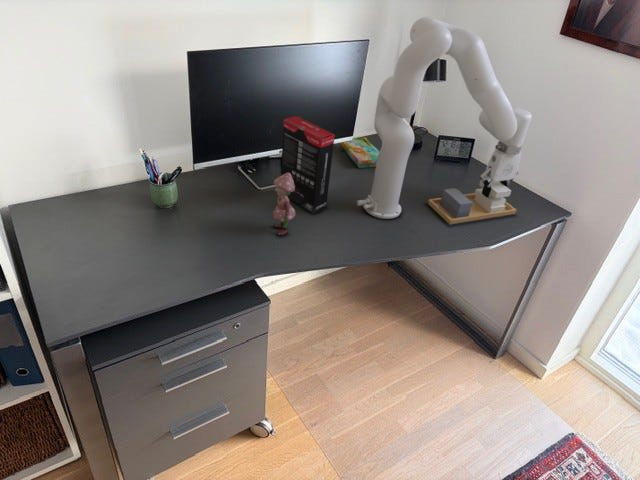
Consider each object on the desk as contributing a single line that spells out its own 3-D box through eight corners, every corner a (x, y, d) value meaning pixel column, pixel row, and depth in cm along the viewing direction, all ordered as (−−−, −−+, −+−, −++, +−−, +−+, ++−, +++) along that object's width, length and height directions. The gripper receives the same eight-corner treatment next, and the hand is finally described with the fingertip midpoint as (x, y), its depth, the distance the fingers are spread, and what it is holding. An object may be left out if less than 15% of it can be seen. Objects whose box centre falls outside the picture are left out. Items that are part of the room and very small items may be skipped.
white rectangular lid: (495, 198, 168) (497, 192, 166) (479, 185, 174) (480, 179, 173) (509, 196, 170) (511, 190, 169) (493, 183, 176) (494, 178, 175)
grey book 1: (458, 212, 164) (460, 204, 162) (441, 197, 171) (443, 189, 170) (470, 210, 166) (473, 202, 164) (453, 195, 173) (455, 187, 171)
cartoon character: (298, 239, 150) (303, 180, 138) (275, 241, 147) (278, 182, 136) (289, 220, 157) (293, 164, 146) (267, 222, 155) (270, 165, 144)
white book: (489, 213, 171) (491, 208, 170) (474, 200, 178) (475, 195, 177) (503, 211, 173) (505, 205, 172) (487, 198, 180) (489, 193, 179)
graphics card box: (327, 208, 165) (337, 132, 150) (313, 215, 161) (321, 137, 145) (292, 188, 174) (297, 114, 158) (277, 194, 170) (281, 118, 154)
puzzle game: (358, 158, 188) (339, 136, 203) (356, 169, 190) (338, 147, 205) (386, 156, 191) (365, 135, 206) (384, 167, 194) (364, 145, 209)
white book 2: (490, 207, 170) (492, 202, 169) (473, 194, 177) (475, 189, 175) (504, 204, 173) (506, 199, 171) (487, 192, 179) (488, 186, 178)
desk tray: (449, 226, 163) (450, 220, 162) (427, 205, 174) (428, 199, 172) (514, 215, 173) (516, 210, 172) (490, 196, 183) (492, 190, 182)
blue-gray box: (456, 219, 166) (458, 212, 164) (439, 204, 173) (441, 197, 171) (468, 217, 167) (470, 210, 166) (451, 202, 175) (453, 195, 173)
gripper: (494, 154, 157) (479, 202, 167) (537, 149, 163) (519, 196, 173) (480, 144, 162) (466, 191, 173) (521, 140, 168) (505, 186, 179)
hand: (492, 193), depth 173 cm, fingers closed on white rectangular lid, 6 cm apart
